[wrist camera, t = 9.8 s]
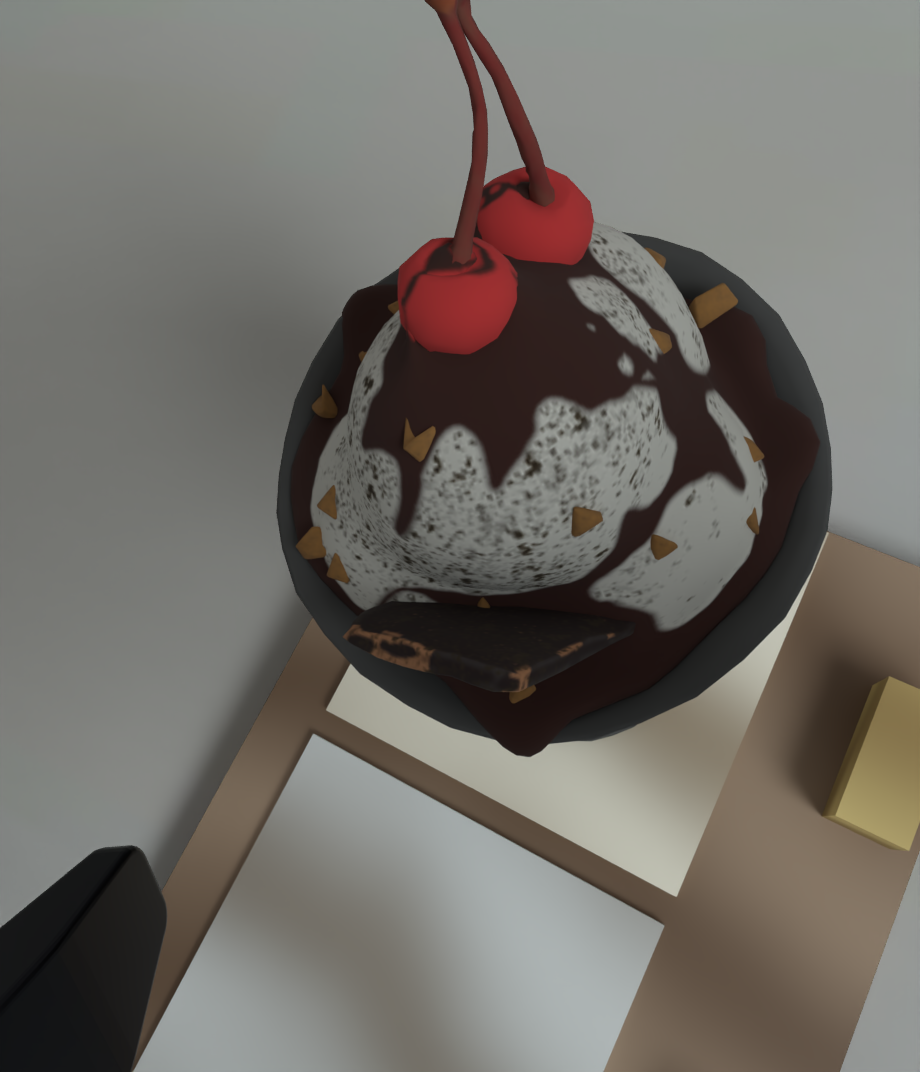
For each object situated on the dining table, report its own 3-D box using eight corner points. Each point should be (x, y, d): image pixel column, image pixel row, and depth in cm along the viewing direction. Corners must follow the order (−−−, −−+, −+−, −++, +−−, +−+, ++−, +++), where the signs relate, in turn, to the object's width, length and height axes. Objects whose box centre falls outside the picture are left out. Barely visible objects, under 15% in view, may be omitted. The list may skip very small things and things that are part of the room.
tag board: (670, 1487, 16) (679, 1585, 14) (88, 1058, 20) (28, 1085, 18) (990, 612, 20) (1034, 587, 18) (448, 399, 24) (432, 358, 22)
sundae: (581, 439, 21) (517, -306, 7) (790, 643, 19) (1287, 127, 5) (374, 616, 21) (-126, 180, 7) (562, 847, 18) (400, 917, 4)
